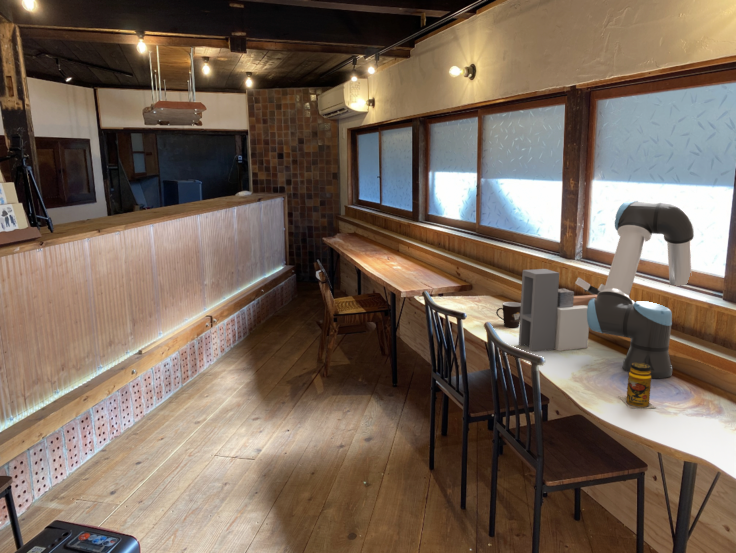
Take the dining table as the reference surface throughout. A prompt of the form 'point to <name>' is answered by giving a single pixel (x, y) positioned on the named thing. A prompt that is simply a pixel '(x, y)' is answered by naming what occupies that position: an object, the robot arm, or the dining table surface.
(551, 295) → the stand
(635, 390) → the condiment
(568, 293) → the grey mallet
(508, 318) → the coffee mug
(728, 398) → the dining table surface
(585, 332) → the block
